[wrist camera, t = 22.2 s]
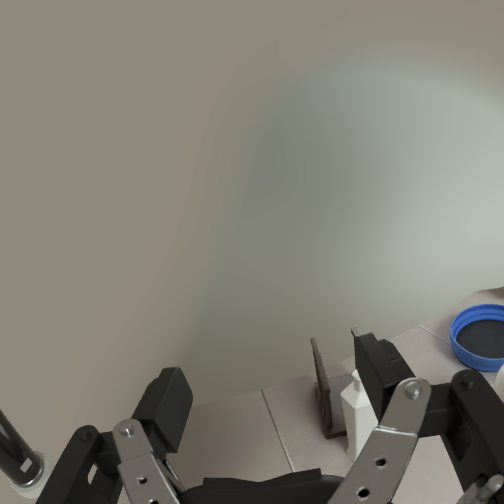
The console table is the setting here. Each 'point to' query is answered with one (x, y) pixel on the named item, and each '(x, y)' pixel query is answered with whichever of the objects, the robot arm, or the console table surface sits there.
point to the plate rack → (331, 394)
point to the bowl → (479, 337)
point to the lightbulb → (500, 383)
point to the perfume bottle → (357, 416)
